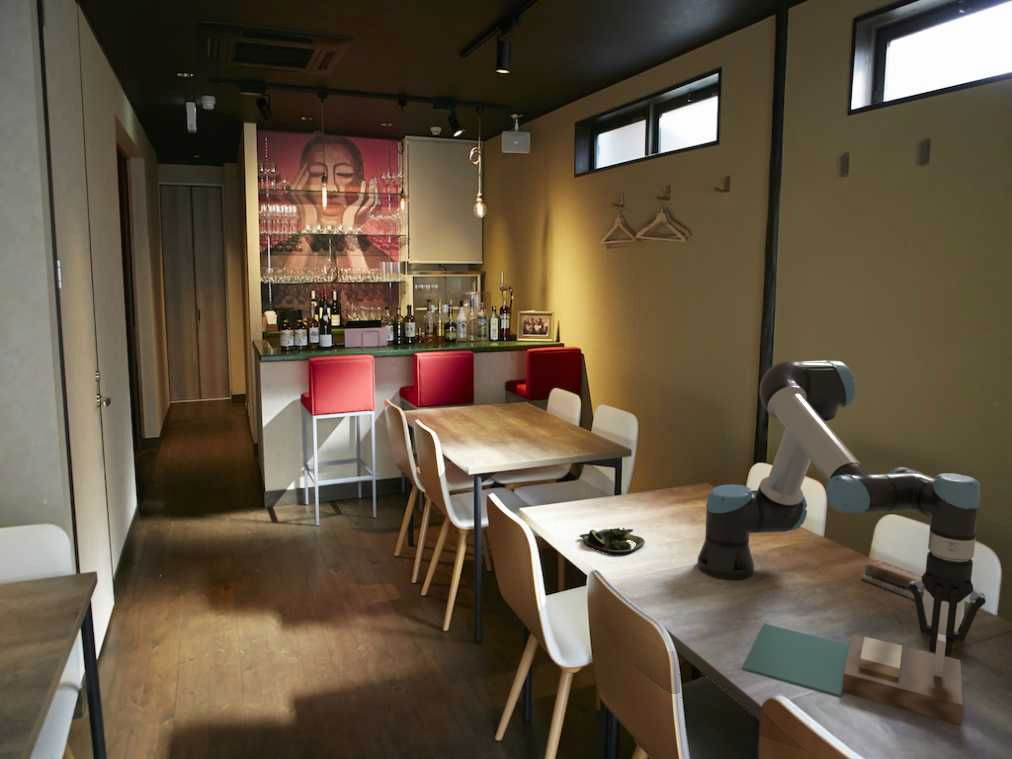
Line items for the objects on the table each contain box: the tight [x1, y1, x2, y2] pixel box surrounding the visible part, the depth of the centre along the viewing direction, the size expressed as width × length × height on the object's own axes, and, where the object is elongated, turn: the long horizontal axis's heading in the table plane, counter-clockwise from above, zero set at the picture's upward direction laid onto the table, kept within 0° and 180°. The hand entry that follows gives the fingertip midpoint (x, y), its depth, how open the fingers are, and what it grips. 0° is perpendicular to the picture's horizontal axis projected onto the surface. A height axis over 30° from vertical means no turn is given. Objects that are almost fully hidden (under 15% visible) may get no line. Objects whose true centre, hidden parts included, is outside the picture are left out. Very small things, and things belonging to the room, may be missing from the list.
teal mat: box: [741, 623, 850, 697], centre depth 154 cm, size 19×22×1 cm
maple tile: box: [860, 636, 903, 678], centre depth 145 cm, size 7×10×2 cm
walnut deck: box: [842, 634, 964, 726], centre depth 144 cm, size 20×18×4 cm
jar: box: [923, 587, 966, 636], centre depth 166 cm, size 9×8×12 cm
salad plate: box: [579, 527, 646, 556], centre depth 219 cm, size 19×18×5 cm
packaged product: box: [860, 559, 925, 600], centre depth 189 cm, size 18×5×10 cm
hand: (938, 668), depth 140 cm, fingers closed
